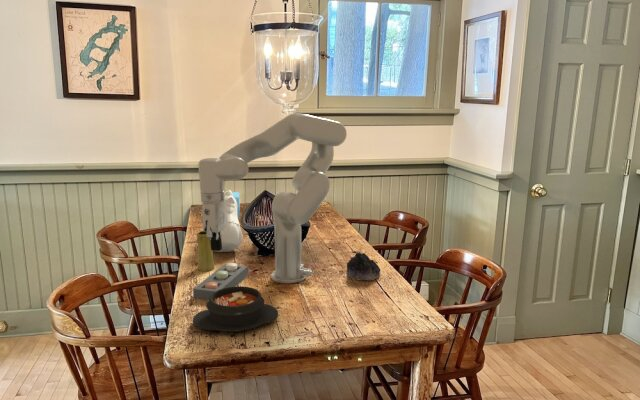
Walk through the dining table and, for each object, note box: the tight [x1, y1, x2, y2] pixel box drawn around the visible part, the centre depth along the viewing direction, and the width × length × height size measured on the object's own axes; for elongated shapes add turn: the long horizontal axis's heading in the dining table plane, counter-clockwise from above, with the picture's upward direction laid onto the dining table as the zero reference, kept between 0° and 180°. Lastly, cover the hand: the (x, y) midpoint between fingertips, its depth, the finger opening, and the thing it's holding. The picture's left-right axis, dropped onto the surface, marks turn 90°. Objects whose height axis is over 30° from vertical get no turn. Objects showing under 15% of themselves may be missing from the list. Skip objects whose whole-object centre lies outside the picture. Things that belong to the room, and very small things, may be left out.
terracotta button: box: [205, 282, 218, 289], centre depth 167 cm, size 4×4×3 cm
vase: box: [196, 230, 215, 272], centre depth 190 cm, size 6×6×14 cm
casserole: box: [192, 285, 279, 333], centre depth 149 cm, size 25×19×8 cm
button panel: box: [192, 263, 249, 302], centre depth 175 cm, size 9×24×4 cm, turn 165°
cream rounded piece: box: [225, 262, 238, 272], centre depth 182 cm, size 4×4×3 cm
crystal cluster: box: [346, 251, 381, 281], centre depth 185 cm, size 13×14×10 cm
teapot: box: [224, 190, 241, 218], centre depth 262 cm, size 22×11×14 cm, turn 8°
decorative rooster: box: [216, 189, 243, 253], centre depth 214 cm, size 25×16×25 cm
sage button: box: [216, 271, 228, 280], centre depth 175 cm, size 4×4×3 cm
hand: (216, 249), depth 168 cm, fingers closed
